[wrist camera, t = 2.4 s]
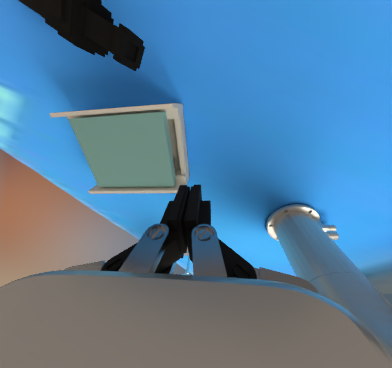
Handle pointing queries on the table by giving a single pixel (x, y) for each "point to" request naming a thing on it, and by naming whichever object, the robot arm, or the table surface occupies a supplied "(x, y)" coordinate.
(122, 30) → the toy gun
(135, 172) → the lid
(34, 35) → the table surface
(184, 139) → the box
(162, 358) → the robot arm
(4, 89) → the table surface
